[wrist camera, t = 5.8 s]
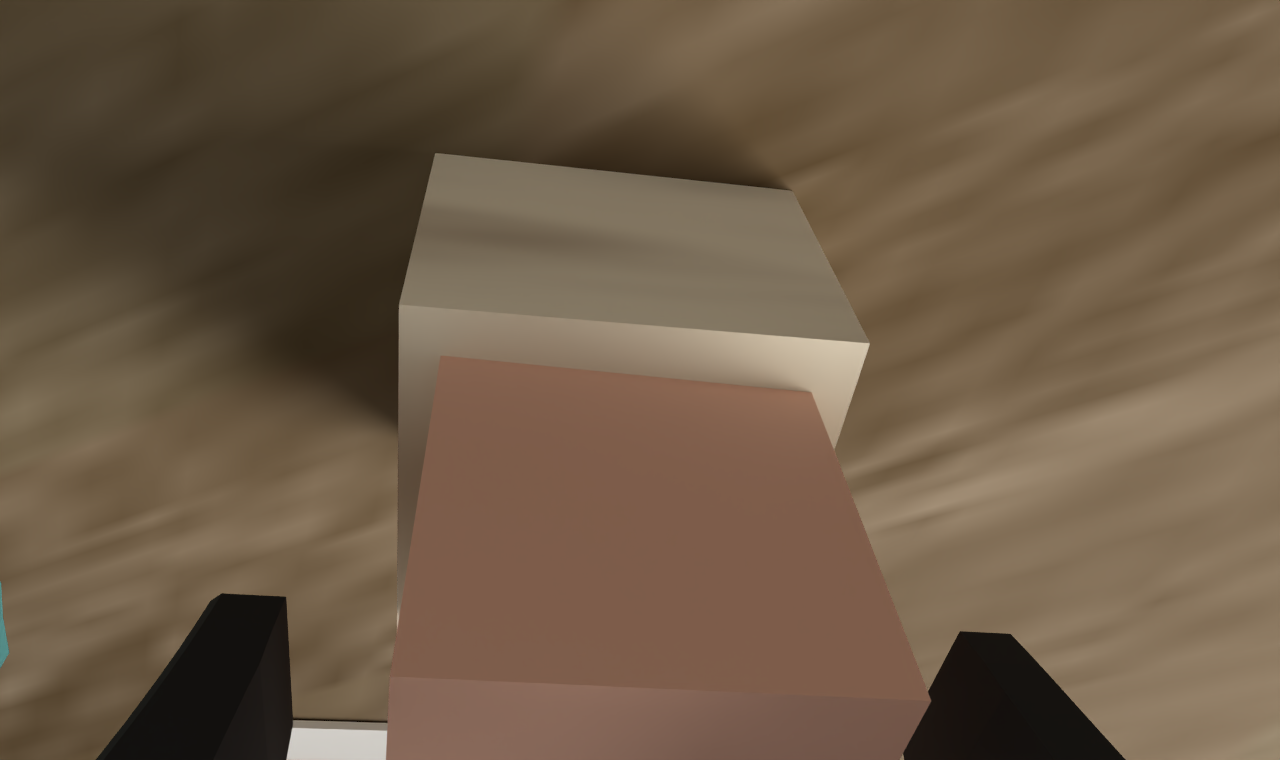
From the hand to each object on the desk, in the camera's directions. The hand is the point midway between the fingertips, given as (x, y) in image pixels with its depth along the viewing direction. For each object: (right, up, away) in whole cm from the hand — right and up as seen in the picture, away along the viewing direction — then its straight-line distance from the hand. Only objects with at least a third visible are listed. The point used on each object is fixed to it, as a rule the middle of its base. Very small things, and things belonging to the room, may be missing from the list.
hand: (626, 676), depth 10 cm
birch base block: (-1, +4, +6) cm, 7 cm away
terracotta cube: (0, +1, +2) cm, 3 cm away
